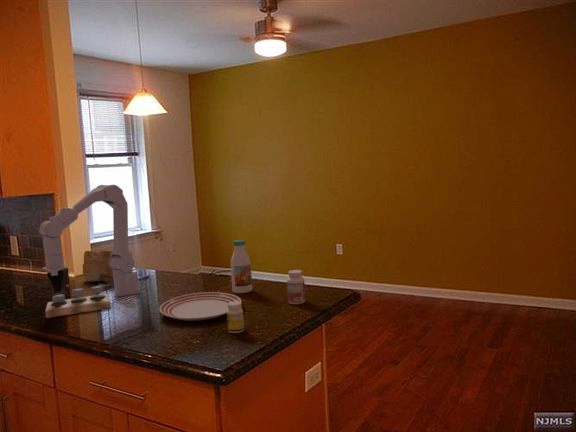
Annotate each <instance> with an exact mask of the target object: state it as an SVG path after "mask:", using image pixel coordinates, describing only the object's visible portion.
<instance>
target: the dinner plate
mask: <svg viewBox="0 0 576 432" xmlns="http://www.w3.org/2000/svg"><path fill="white" fill-rule="evenodd" d="M234 301H238V302H241V303H242V299H241V298H240V297H239V296H237V295H234V294H232V293H226V292H219V291H218V292H216V291H214V292H213V291H211V292H210V291H205V292H195V293H188V294H184V295H183V294H182V295H180V296H176V297H173V298H171V299H169V300H166V301H165V302H163V303H162V304H161V305H160V306H159V308H158V309H159V312H160V313H161V314H162V315H164V316H166V317H168V318H172V319H175V320H180V321H186V322H197V321H199V322H200V321H207V320H211V319H215V318H219V317H221V316H223V315H227V310H228V303H230V302H234Z"/></svg>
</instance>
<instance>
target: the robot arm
mask: <svg viewBox="0 0 576 432" xmlns="http://www.w3.org/2000/svg"><path fill="white" fill-rule="evenodd" d="M98 202H99V203H100V202H103V203H104V204H105V203H106V204H107V205H108V206H109V207H111V208H112V211H113V212H112V214H113V215H112V217H113V221H112V222H113V248H112V251H111V250H110V251H111V257H110V259H109V266H110V268H111V269H112V270H113V279H114V282H113V287H114V291H113V297H115V298H117V297H122V296H123V297H124V296H130V295H137V294H140V283H139V275H138V274H139V273H138V271H137V270H135V269H134V267H135V260H134V258H133V253H132V251H131V249H130V248H129V220H128V219H129V215H128V214H129V213H128V212H129V211H128V209H129V207H128V202H127V199H126V197H125V195H124V190H123V189H122V188H121V187H120V186H118V185H116V184H100V185H98V186H97V187H94V188H92V189H91V191H89V193H87V194H86V195H85V196H84V197H82V198H81V199H80V200H79V201H78V202H76V203H74V205H72V206H71V207H69V206H66V207H61V208H60V211H59V212H57V214H55V215H53V216H50V217H49V220H45V221H43V222H42V223H41V224H40V226H39V229H38V233H39V234H40V235H41V236H42V243H43V244H42V245H43V251H44V252H43V253H44V260H45V261H44V262H45V266H44V267H42V271H47V273H46V277H47V278H48V279H49V281H50V283H51V286H53V289H54V291H55V292H60V291H61V289H62V278H63V275H64V272H65V270H61V269H63V268H64V267H66V266H65V264H64V255H63V247H62V238H61V237H62V234H63V232H64V230H65V229H66V228H68V227H69V226H70V225H72V224H73V223H74V222H75V221H77V220H78V218H79V214H81V213H82V212H83V211H85V210H86V209H88V208H90V207H91V206H92V205H93V204H95V203H98ZM133 269H134V270H133ZM53 289H52V290H53Z"/></svg>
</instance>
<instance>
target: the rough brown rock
mask: <svg viewBox="0 0 576 432" xmlns="http://www.w3.org/2000/svg"><path fill="white" fill-rule="evenodd" d="M112 250H113V249H112ZM112 250H99V251H98V252H97V251H94V250H93V251H92V250H86V251H84V253H83V264H82V276H83V279H84V280H85V281H86V282H89V283H91V282H104V283H106V284H108V285H111V284H114V279H113V270H112V269H111V268H110V266H109V259H110V257H111V251H112Z"/></svg>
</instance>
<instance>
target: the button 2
mask: <svg viewBox="0 0 576 432" xmlns="http://www.w3.org/2000/svg"><path fill="white" fill-rule="evenodd" d="M90 292H91V294H92V295H100V294H102V293H103V292H104V288H103V286H102V285H95V286H91V287H90Z"/></svg>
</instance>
